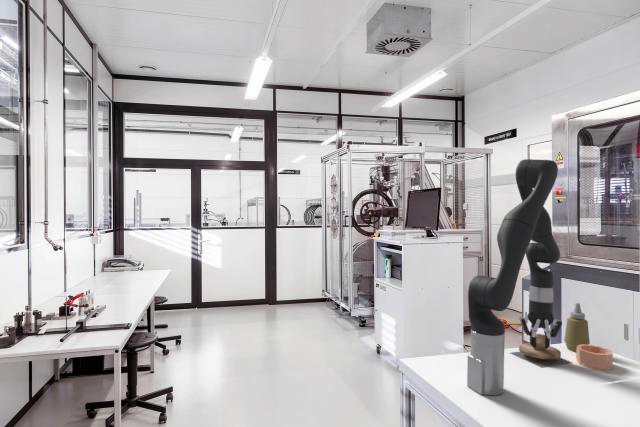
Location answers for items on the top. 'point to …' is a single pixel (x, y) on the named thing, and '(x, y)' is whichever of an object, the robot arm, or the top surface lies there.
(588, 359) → the bowl
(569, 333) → the squeeze bottle
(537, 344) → the lid
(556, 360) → the mat
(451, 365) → the top surface
